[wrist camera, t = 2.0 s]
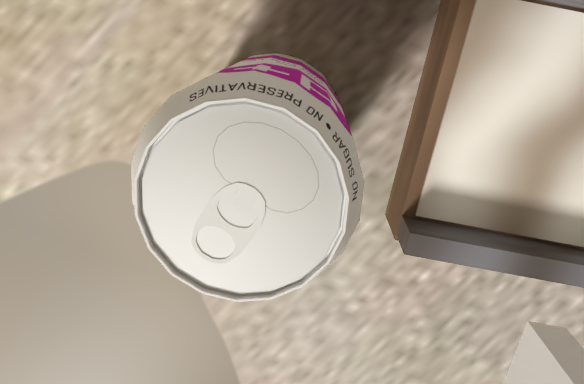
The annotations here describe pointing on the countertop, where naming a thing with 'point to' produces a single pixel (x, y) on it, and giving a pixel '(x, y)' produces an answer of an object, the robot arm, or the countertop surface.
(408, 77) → the countertop surface
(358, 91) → the countertop surface
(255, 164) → the supplement can
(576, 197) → the wooden tray
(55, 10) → the countertop surface
